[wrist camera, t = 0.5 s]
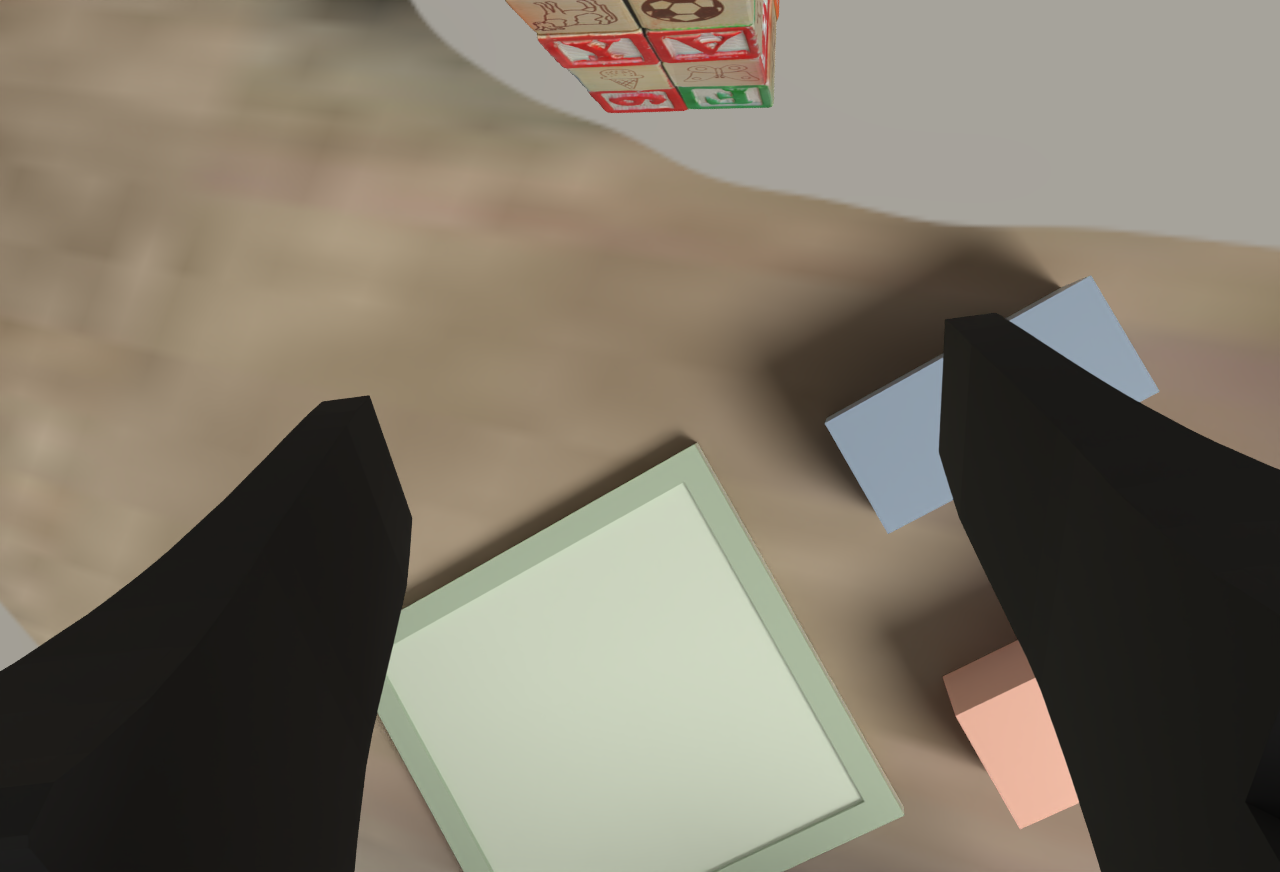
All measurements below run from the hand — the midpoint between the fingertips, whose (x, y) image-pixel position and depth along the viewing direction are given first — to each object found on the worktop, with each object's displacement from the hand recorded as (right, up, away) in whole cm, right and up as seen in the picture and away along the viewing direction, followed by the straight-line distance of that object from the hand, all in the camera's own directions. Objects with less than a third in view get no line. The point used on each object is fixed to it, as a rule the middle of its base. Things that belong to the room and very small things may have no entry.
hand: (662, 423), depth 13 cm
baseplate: (-1, -11, +26) cm, 28 cm away
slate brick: (+11, +1, +23) cm, 26 cm away
